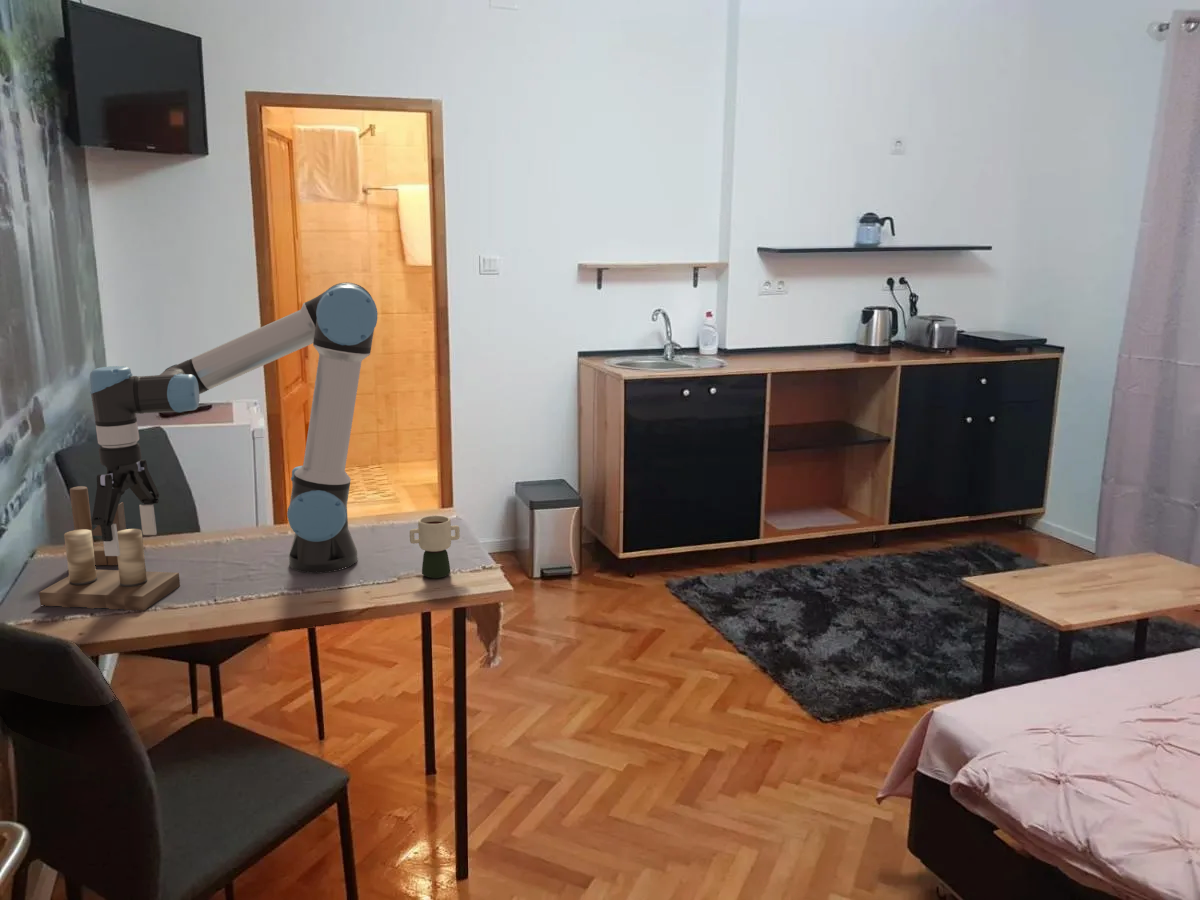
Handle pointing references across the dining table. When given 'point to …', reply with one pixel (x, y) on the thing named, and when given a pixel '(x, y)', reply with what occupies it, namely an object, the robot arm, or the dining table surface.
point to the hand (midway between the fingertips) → (131, 544)
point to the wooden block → (84, 522)
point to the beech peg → (131, 558)
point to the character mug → (435, 544)
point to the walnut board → (102, 581)
